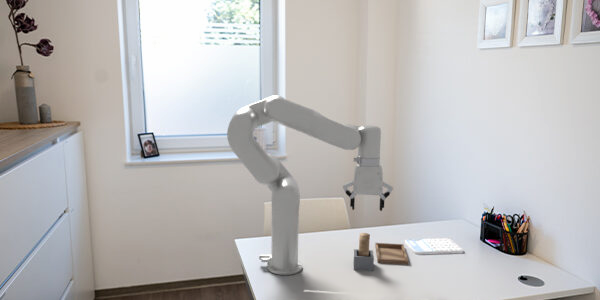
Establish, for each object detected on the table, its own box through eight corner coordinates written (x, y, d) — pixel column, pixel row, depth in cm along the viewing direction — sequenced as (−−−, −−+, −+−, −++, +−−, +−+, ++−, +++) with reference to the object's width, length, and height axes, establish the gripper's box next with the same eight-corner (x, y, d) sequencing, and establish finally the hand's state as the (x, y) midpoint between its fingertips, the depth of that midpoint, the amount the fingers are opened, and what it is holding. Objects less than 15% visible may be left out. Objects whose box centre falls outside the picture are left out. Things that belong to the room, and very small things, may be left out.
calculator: (464, 254, 183) (464, 249, 182) (415, 255, 180) (415, 251, 180) (449, 241, 196) (449, 237, 195) (403, 242, 193) (403, 238, 193)
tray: (408, 266, 169) (408, 260, 169) (377, 264, 170) (378, 259, 170) (402, 249, 185) (403, 244, 185) (375, 247, 186) (375, 242, 186)
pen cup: (353, 271, 164) (354, 256, 163) (353, 263, 171) (354, 249, 170) (373, 272, 163) (373, 257, 162) (372, 264, 170) (372, 250, 169)
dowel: (358, 268, 165) (359, 236, 163) (357, 263, 169) (359, 232, 167) (368, 268, 165) (370, 236, 163) (367, 264, 168) (369, 233, 166)
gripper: (343, 163, 157) (342, 211, 160) (395, 164, 155) (392, 213, 158) (343, 158, 164) (342, 205, 167) (393, 160, 163) (390, 207, 166)
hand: (366, 209), depth 163 cm, fingers open, 9 cm apart
